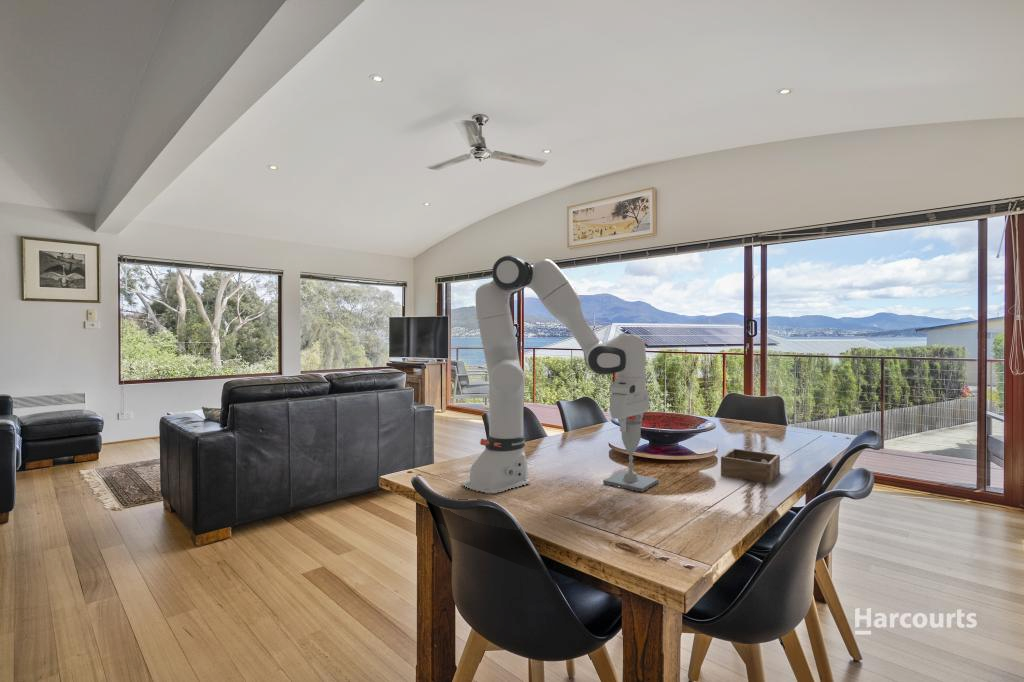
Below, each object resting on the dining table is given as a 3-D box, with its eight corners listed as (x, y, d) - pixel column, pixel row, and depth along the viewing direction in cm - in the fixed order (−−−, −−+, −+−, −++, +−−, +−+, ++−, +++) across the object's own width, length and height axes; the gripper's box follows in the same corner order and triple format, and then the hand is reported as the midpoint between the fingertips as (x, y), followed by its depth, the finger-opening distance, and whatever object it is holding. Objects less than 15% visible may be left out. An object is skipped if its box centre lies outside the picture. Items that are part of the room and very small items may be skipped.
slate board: (642, 492, 144) (642, 488, 144) (603, 483, 152) (603, 480, 152) (658, 482, 153) (658, 478, 153) (621, 474, 161) (621, 471, 161)
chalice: (641, 484, 148) (641, 425, 147) (618, 481, 150) (618, 423, 150) (642, 477, 155) (643, 420, 154) (621, 475, 157) (621, 419, 157)
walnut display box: (769, 483, 151) (769, 464, 151) (720, 474, 161) (720, 456, 161) (779, 472, 163) (779, 455, 163) (733, 465, 172) (733, 448, 172)
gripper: (636, 381, 162) (635, 423, 162) (606, 387, 146) (606, 433, 146) (654, 383, 158) (653, 425, 158) (625, 389, 142) (625, 436, 142)
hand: (630, 429), depth 152 cm, fingers open, 8 cm apart
